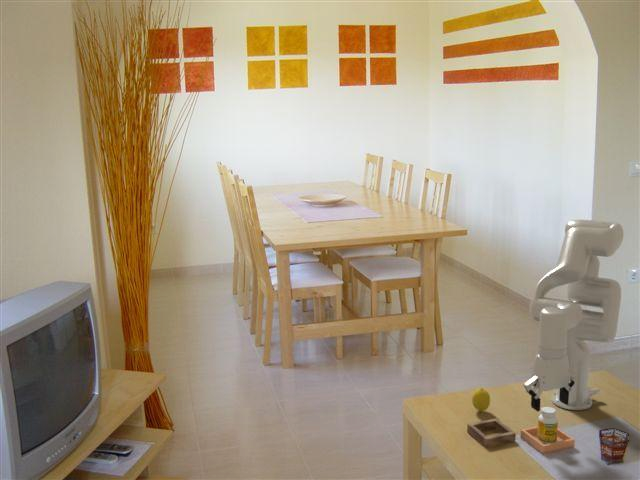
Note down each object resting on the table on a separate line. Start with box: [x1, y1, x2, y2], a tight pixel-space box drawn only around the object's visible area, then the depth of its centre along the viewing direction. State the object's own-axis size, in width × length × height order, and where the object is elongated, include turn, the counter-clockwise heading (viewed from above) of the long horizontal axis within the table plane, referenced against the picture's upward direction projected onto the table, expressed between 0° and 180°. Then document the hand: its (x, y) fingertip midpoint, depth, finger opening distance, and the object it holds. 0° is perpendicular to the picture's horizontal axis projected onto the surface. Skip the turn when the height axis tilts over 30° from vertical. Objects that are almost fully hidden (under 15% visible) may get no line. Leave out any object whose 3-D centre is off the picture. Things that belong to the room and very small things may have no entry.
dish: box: [520, 425, 575, 455], centre depth 201 cm, size 11×11×2 cm
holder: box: [466, 418, 517, 448], centre depth 205 cm, size 10×10×2 cm
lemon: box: [471, 387, 491, 413], centre depth 221 cm, size 6×6×8 cm
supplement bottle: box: [537, 406, 559, 444], centre depth 201 cm, size 5×5×10 cm
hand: (549, 405), depth 200 cm, fingers open, 9 cm apart
